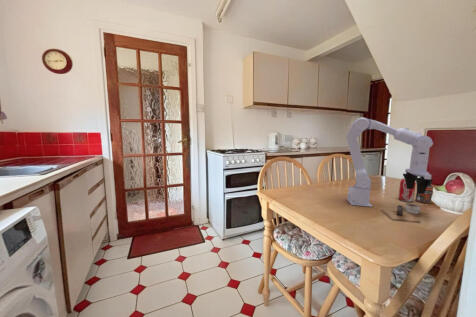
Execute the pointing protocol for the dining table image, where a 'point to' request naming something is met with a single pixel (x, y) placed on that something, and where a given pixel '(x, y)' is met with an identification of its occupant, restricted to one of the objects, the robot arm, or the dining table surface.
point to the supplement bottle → (425, 195)
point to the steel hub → (412, 208)
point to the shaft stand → (400, 215)
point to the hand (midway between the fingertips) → (414, 190)
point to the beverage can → (406, 192)
